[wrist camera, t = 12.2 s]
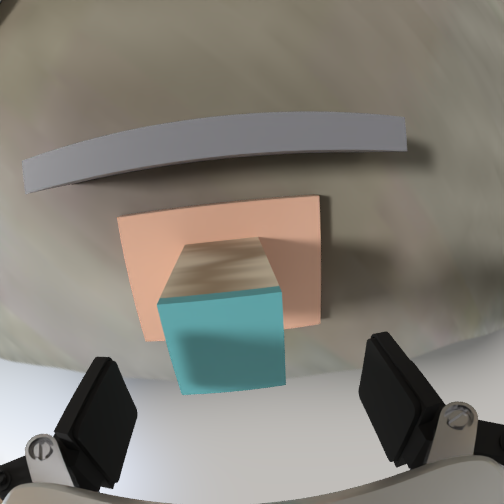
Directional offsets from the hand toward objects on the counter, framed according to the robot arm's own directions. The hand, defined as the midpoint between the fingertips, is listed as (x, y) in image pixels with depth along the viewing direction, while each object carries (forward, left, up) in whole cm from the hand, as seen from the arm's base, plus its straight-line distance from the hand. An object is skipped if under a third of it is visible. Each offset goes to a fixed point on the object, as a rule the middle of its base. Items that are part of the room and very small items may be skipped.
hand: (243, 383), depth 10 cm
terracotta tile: (+1, 0, -12) cm, 12 cm away
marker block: (+1, 0, -11) cm, 11 cm away
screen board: (+1, -9, -12) cm, 15 cm away
